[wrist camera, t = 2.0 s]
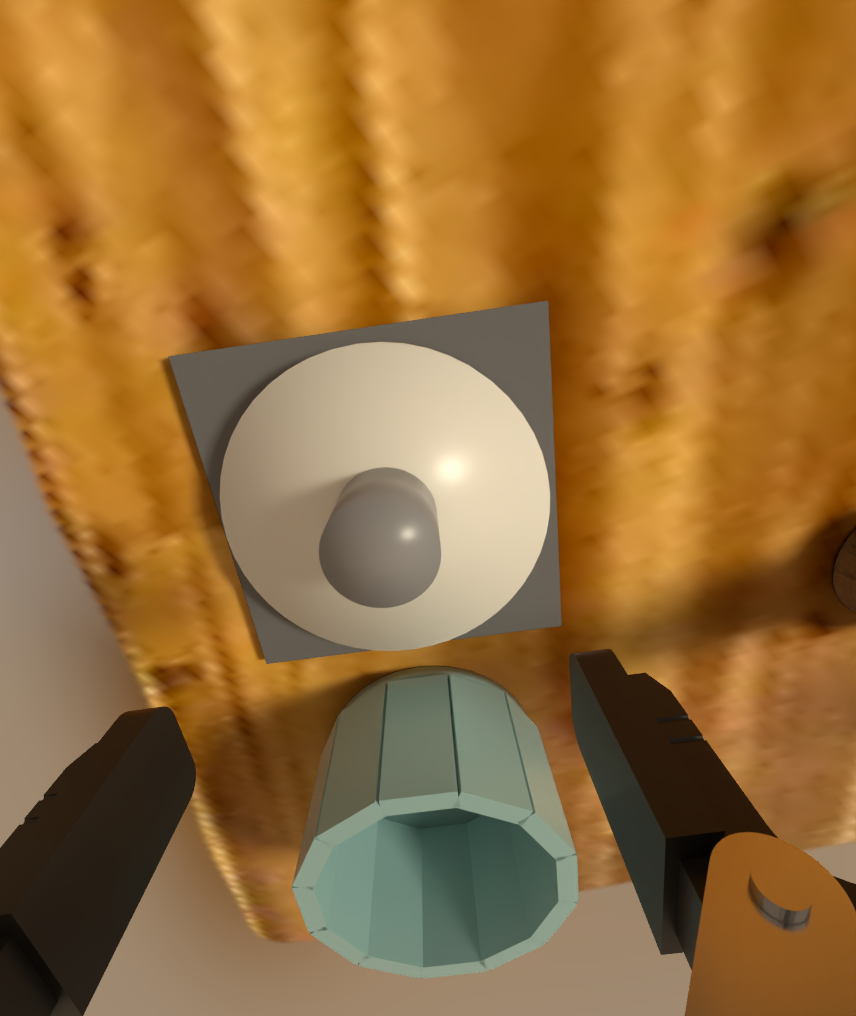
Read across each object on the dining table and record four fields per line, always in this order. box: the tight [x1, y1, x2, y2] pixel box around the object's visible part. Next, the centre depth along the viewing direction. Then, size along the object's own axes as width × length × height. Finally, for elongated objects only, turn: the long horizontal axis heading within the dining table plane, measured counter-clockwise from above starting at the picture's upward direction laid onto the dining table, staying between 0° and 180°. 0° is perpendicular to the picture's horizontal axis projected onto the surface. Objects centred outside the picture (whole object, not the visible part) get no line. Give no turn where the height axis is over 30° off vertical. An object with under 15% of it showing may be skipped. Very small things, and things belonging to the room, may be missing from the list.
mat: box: [168, 301, 562, 664], centre depth 20 cm, size 14×14×1 cm
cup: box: [292, 666, 579, 978], centre depth 22 cm, size 11×11×7 cm
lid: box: [220, 342, 550, 651], centre depth 17 cm, size 13×13×4 cm
